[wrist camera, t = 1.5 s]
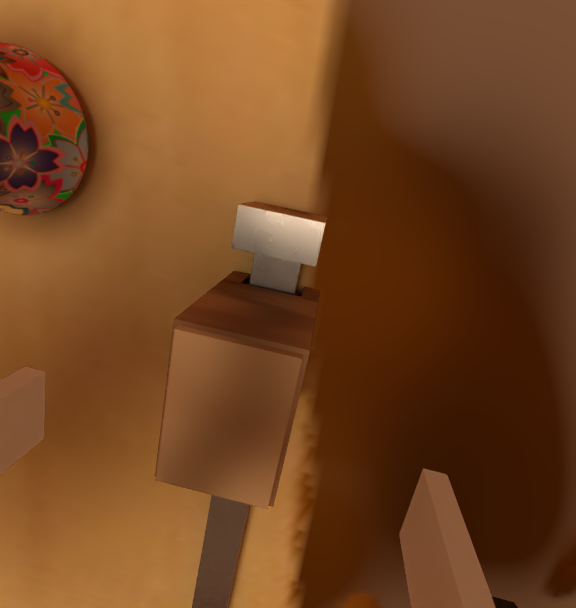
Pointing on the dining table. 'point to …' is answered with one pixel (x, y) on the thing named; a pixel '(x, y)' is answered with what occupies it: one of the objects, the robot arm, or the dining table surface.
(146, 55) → the dining table surface
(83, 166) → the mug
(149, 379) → the dining table surface
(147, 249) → the dining table surface
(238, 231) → the rail
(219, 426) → the block
